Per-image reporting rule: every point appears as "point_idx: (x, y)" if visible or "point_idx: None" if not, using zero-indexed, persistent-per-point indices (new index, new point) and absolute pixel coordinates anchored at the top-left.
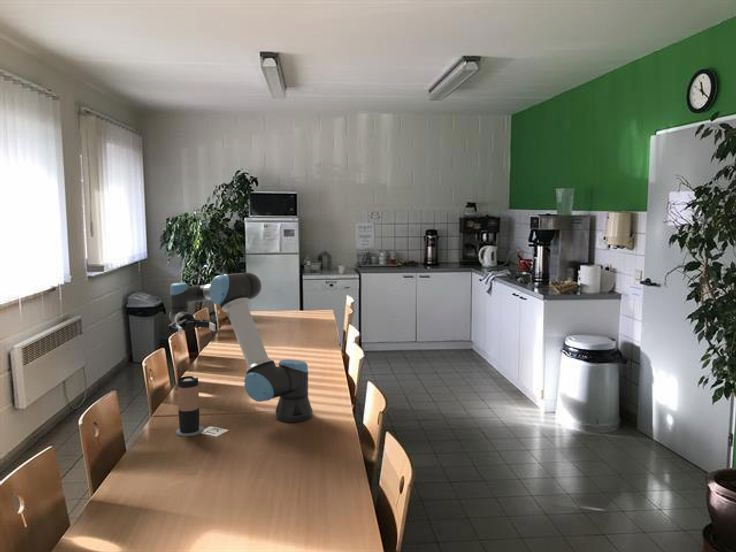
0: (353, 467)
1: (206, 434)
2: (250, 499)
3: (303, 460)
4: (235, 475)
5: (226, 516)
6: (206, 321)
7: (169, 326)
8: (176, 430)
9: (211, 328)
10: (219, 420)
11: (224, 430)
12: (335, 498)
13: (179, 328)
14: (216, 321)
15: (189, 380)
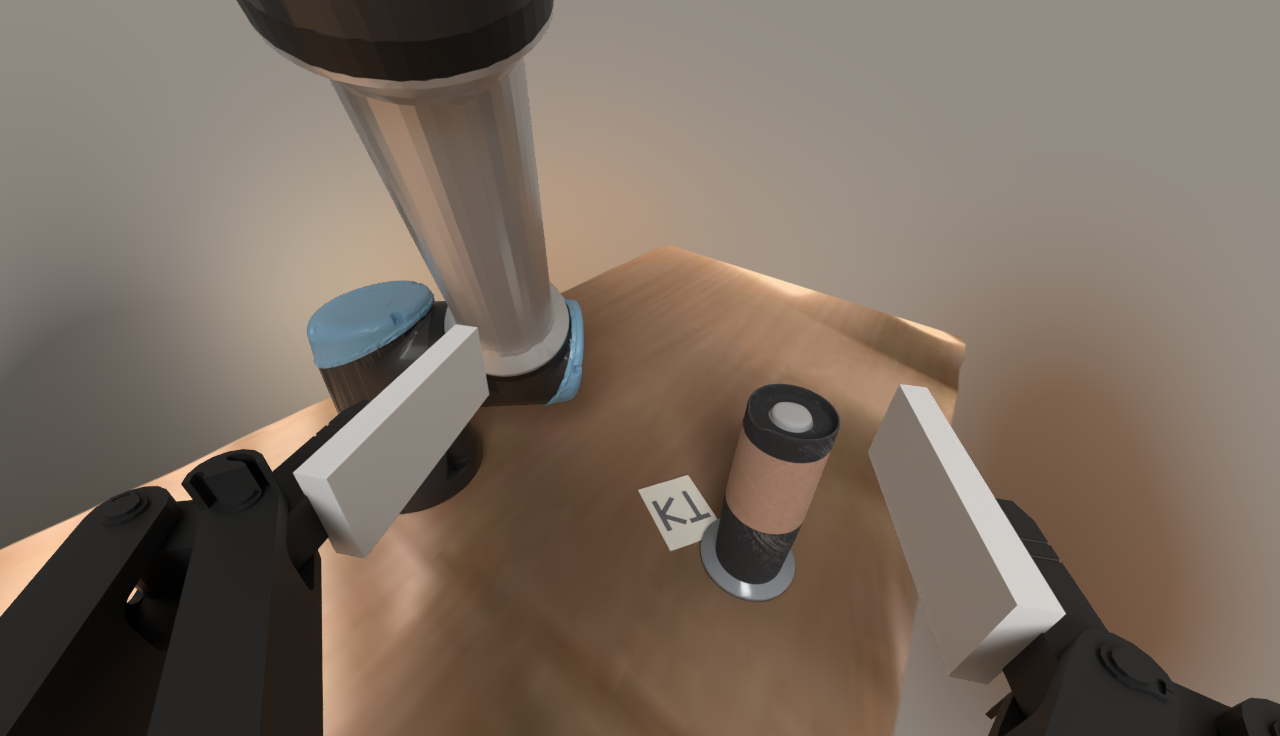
0: (567, 294)
1: (706, 503)
2: (730, 307)
3: (605, 329)
4: (724, 346)
5: (769, 301)
6: (189, 643)
7: (1266, 709)
8: (791, 577)
9: (439, 439)
10: (615, 585)
11: (649, 494)
12: (643, 276)
13: (932, 411)
14: (124, 495)
15: (787, 402)
